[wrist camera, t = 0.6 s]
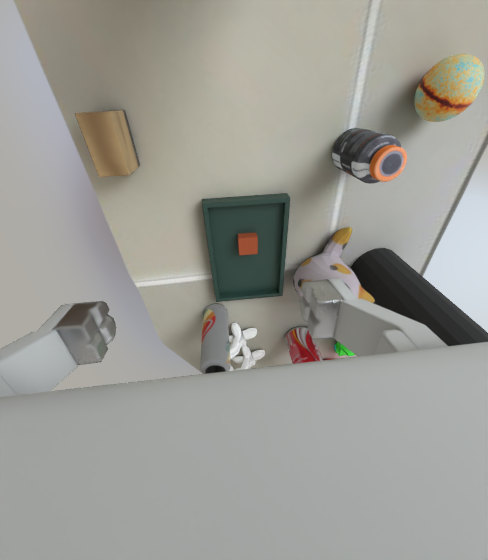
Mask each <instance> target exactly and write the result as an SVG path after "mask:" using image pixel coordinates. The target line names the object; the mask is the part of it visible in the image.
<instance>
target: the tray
mask: <svg viewBox="0 0 488 560" xmlns="http://www.w3.org/2000/svg"><path fill="white" fill-rule="evenodd" d="M289 207H290V197H289V195H288V194H287V193H284V194H269V195H255V196H240V197H226V198H211V199H202V208H203V215H204V222H205V228H206V235H207V242H208V249H209V256H210V263H211V270H212V277H213V283H214V290H215V297H216V302H220V301H231V300H242V299H253V298H263V297H274V296H282V294H283V282H284V269H285V257H286V244H287V232H288V219H289ZM255 232H256V234H257V237H258V254H250V255H239V251H238V235H237V234H242V233H255Z"/></svg>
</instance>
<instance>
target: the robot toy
mask: <svg viewBox="0 0 488 560" xmlns="http://www.w3.org/2000/svg"><path fill="white" fill-rule="evenodd" d="M231 330H232V333H233V335H234V336H233V335H230V336H229V343H232V344H231V345H230V359H232V358H233V359H232V360H233V361H234V362H236V363H242V365H241V368H238V369H235V370H243V369H250V367H251V366H254V365H255V361H256V360H259V359H261V358H263V357H264V355H265V351H264V350H256V351H254V352H252V355H253V356H252V355H251V352H250V349H249V347H247V346H246V344H247V342H246V340H248V339H251V338H253V337H255V336H256V334H257V330H256V328H249V329H246V330H244V331H242V332H243V335H244V336H243V335H242V332H241V329H240V326H239V325H238V324H237V323H232V325H231ZM241 347H242V353H243V356H244V357H243V356H236V355H237V354H238V353H239V351H240V348H241ZM235 356H236V357H235ZM253 358H254V359H253ZM254 360H255V361H254ZM229 371H234V369H233V367H232V366H230V370H229Z"/></svg>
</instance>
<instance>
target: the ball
mask: <svg viewBox="0 0 488 560" xmlns="http://www.w3.org/2000/svg"><path fill="white" fill-rule="evenodd" d="M483 81H484V67H483V65H482V63H481V61H480V60H479V59H478V58H476V57H475V56H473V55H469V54H457V55H453V56H450V57H448V58H446V59H444V60H442V61H440V62H439V63H437V64H436V65H435V66H434V67H432V68H431V69H430V70H429V71H428V72H427V73H426V75H425V76H424V77H423V79H422V80H421V82H420V84H419V86H418V88H417V91H416V94H415V101H414V102H415V109H416V111H417V113H418V115H419V116H420V117H421V118H423V119H424V120H427V121H431V122H440V121H445V120H448V119H451V118H453V117H455V116H457V115H458V114H460V113H461V112H463V111H464V110H465V109H466V108H467V107H468V106H469V105H470V104H471V103H472V102H473V101H474V100H475V98H476V97H477V95H478V94H479V92H480V90H481V88H482V85H483Z"/></svg>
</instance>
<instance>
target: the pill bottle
mask: <svg viewBox="0 0 488 560" xmlns="http://www.w3.org/2000/svg"><path fill="white" fill-rule="evenodd" d="M332 158H333V162H334V164H335V165H336V166H337V167H338V168H339V169H341V170H343V171H345V172H346V173H348V174H350V175H352V176H354V177H356V178H357V179H359V180H361V181H363V182H365V183H377V182H380V181H382V182H387V181H390V180H392V179H394V178H396V177H397V176H398V175H399V174H400V173H401V172H402V170H403V169H404V167H405V164H406V161H407V155H406V152H405V150H404V149H403V148H401V145H400V142H399V141H398V140H397V138H395V137H394V136H392V135H389V134H384V133H380V132H375V131H370V130H365V129H360V128H353V129H350V130H347V131H346V132H344V133H343V134H342V135H341V136H340V137H339V138H338V139H337V141H336V143H335V145H334V147H333V151H332Z"/></svg>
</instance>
